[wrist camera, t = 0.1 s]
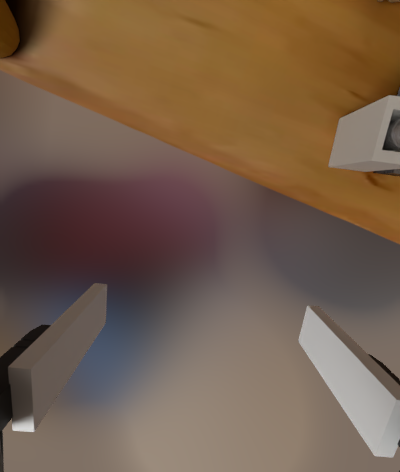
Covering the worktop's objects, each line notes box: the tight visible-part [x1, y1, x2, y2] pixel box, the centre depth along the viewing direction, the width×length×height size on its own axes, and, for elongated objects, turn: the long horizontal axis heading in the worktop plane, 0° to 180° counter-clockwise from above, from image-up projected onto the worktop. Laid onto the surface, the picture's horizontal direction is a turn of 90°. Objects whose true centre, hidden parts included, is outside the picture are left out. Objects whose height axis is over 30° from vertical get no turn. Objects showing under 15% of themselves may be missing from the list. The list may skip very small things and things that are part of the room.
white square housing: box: [328, 95, 400, 172], centre depth 34 cm, size 8×7×10 cm
